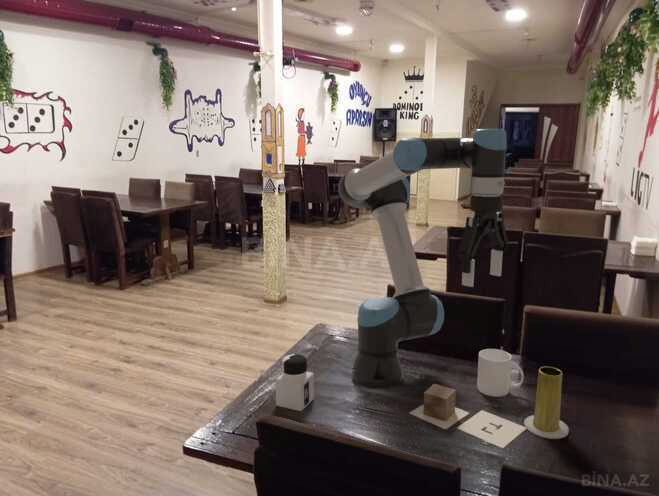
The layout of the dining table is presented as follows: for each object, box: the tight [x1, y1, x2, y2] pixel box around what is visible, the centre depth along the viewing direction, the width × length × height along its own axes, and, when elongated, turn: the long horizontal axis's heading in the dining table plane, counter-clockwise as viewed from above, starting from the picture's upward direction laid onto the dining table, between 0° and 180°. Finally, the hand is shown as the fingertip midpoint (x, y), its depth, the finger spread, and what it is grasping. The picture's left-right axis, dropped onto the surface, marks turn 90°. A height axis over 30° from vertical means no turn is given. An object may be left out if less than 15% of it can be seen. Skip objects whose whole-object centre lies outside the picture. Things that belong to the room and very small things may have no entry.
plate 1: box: [409, 403, 470, 430], centre depth 132 cm, size 11×11×1 cm
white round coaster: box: [523, 414, 570, 440], centre depth 125 cm, size 10×10×1 cm
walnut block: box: [423, 383, 457, 421], centre depth 131 cm, size 6×6×6 cm
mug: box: [476, 348, 525, 398], centre depth 142 cm, size 9×12×11 cm
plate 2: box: [456, 410, 527, 449], centre depth 125 cm, size 12×12×1 cm
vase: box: [533, 366, 563, 432], centre depth 124 cm, size 6×6×14 cm
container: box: [275, 353, 315, 412], centre depth 137 cm, size 8×8×13 cm
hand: (482, 280), depth 128 cm, fingers open, 13 cm apart
